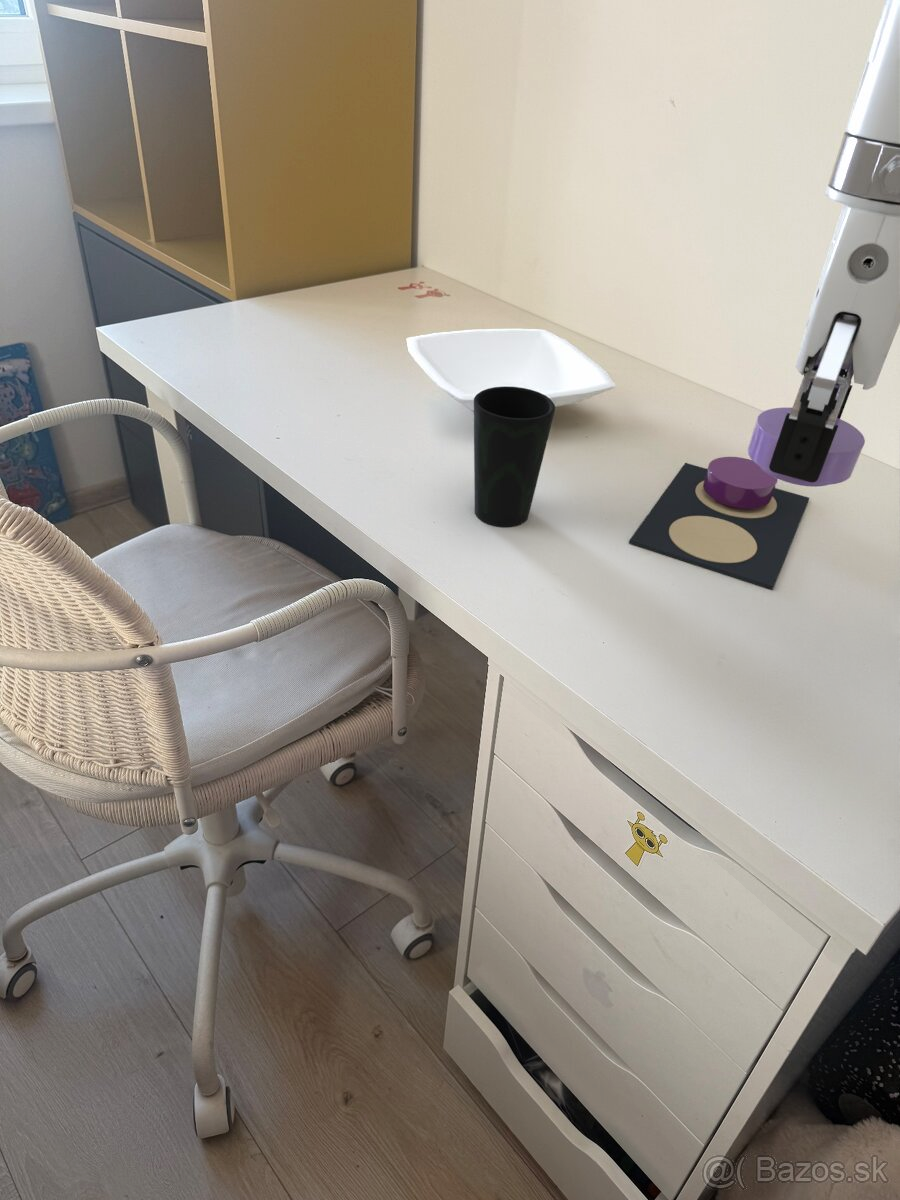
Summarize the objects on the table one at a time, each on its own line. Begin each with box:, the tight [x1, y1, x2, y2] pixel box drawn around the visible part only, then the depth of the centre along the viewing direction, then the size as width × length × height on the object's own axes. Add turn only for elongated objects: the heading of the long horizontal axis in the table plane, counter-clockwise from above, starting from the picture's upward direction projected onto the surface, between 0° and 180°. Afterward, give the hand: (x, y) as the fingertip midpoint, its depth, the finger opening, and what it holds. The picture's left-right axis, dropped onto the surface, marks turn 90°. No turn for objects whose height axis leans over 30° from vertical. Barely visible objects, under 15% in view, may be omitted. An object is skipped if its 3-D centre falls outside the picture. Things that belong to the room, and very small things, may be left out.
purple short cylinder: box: [703, 456, 779, 510], centre depth 89 cm, size 7×7×3 cm
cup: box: [473, 386, 556, 528], centre depth 81 cm, size 8×8×12 cm
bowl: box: [406, 328, 616, 412], centre depth 105 cm, size 22×23×6 cm
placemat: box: [628, 462, 810, 591], centre depth 86 cm, size 14×20×1 cm
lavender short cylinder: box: [747, 407, 866, 488], centre depth 58 cm, size 7×7×3 cm
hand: (802, 451), depth 58 cm, fingers closed on lavender short cylinder, 7 cm apart
